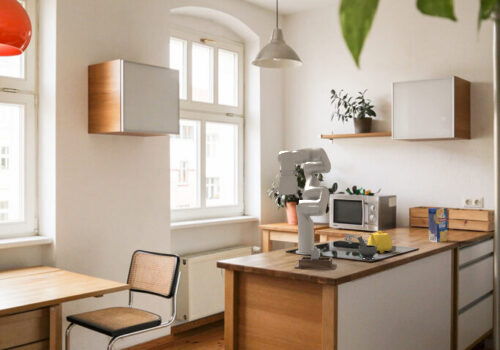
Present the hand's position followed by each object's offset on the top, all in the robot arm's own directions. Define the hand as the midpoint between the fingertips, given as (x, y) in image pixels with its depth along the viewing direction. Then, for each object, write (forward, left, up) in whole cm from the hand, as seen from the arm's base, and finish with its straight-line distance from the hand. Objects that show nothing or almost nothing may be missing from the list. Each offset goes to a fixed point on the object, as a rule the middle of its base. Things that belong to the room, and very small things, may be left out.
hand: (288, 205), depth 282 cm
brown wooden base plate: (+16, +16, -30) cm, 38 cm away
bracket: (-66, +37, -31) cm, 82 cm away
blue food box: (-88, +87, -31) cm, 127 cm away
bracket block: (+16, +16, -30) cm, 37 cm away
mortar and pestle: (-11, +41, -31) cm, 52 cm away
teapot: (-36, +48, -31) cm, 67 cm away
